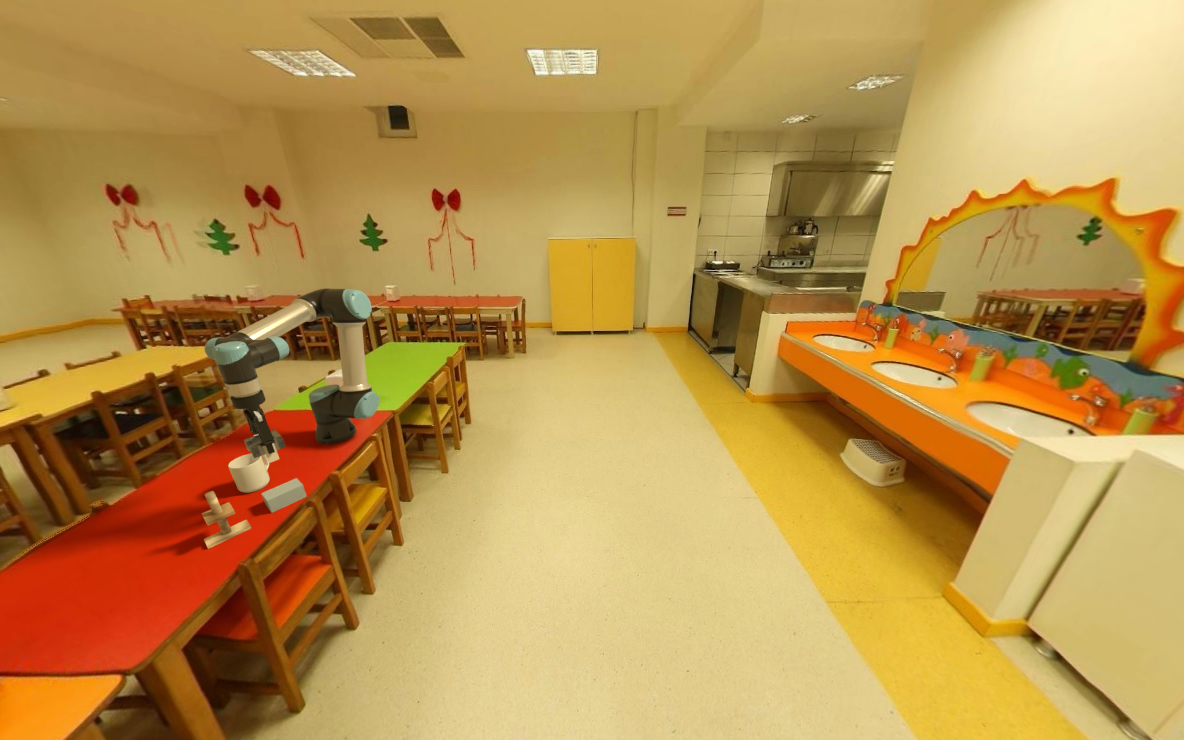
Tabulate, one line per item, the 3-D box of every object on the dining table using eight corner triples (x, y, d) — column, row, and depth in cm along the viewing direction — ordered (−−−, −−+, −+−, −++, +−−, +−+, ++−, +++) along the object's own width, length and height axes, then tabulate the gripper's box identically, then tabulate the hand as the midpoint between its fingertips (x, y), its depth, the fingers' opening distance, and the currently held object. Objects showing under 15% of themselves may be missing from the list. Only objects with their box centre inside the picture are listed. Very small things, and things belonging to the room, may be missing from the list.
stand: (246, 520, 121) (229, 480, 115) (252, 529, 118) (234, 488, 112) (204, 540, 114) (183, 498, 108) (209, 550, 110) (187, 507, 104)
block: (300, 489, 135) (296, 478, 133) (306, 496, 132) (302, 484, 130) (265, 505, 128) (261, 493, 126) (271, 512, 125) (266, 500, 123)
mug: (257, 494, 133) (246, 468, 128) (232, 494, 133) (220, 468, 128) (283, 473, 144) (274, 448, 140) (260, 472, 144) (250, 448, 140)
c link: (277, 438, 127) (274, 429, 126) (285, 446, 122) (282, 437, 121) (247, 449, 121) (243, 439, 120) (254, 458, 116) (251, 448, 115)
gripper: (221, 387, 117) (245, 449, 126) (239, 407, 106) (265, 473, 114) (251, 380, 123) (273, 439, 131) (272, 397, 111) (294, 461, 120)
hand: (269, 455), depth 123 cm, fingers closed on c link, 8 cm apart
